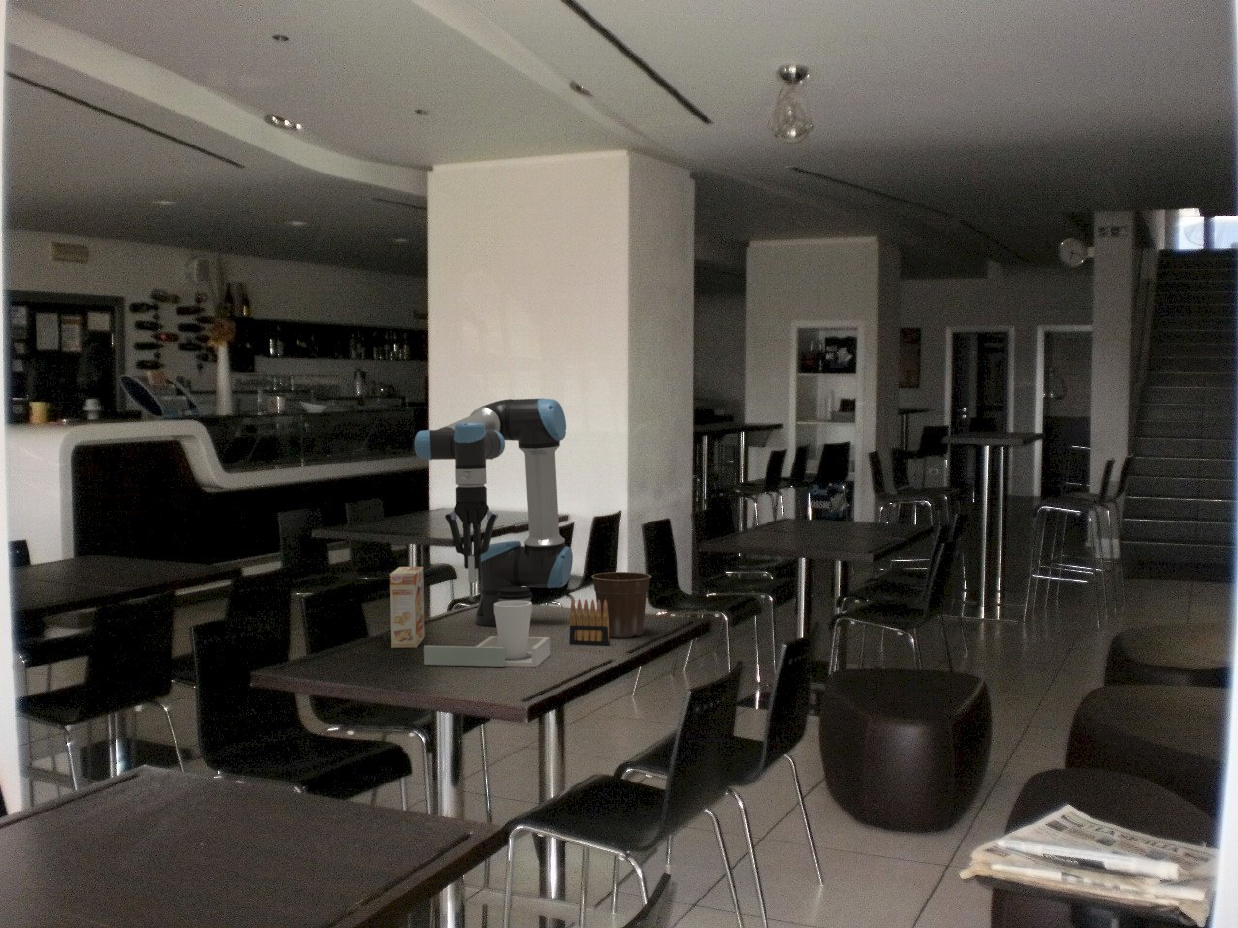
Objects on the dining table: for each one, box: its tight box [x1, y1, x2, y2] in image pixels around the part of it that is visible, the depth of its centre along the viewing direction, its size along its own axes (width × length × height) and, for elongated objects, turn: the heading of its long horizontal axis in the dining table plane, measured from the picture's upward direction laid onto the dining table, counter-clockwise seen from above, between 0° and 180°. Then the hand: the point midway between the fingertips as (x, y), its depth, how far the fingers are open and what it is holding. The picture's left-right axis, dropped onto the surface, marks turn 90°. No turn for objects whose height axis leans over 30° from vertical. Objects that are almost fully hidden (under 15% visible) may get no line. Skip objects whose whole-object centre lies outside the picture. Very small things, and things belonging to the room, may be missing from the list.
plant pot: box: [591, 571, 652, 639], centre depth 337 cm, size 16×16×16 cm
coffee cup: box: [497, 587, 533, 602], centre depth 323 cm, size 9×9×15 cm
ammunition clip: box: [568, 598, 611, 647], centre depth 323 cm, size 11×2×12 cm, turn 76°
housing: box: [475, 635, 551, 668], centre depth 305 cm, size 14×15×4 cm
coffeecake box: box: [389, 566, 425, 649], centre depth 330 cm, size 15×7×20 cm, turn 0°
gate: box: [423, 645, 506, 668], centre depth 299 cm, size 1×20×4 cm, turn 80°
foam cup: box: [494, 601, 533, 659], centre depth 304 cm, size 10×9×13 cm
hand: (472, 581), depth 303 cm, fingers closed
